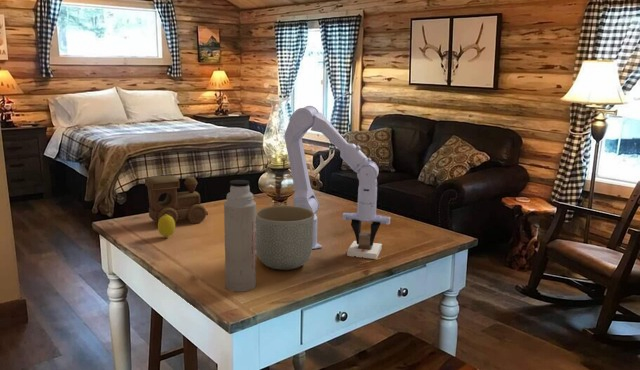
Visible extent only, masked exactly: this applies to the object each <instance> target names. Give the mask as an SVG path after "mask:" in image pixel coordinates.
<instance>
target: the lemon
mask: <svg viewBox="0 0 640 370" xmlns="http://www.w3.org/2000/svg"><path fill="white" fill-rule="evenodd" d="M157 231H158V233H159V234H160V235H161V236H163V237H165V238H169V237H170V236H172V235H173V234H174V233H175V231H176V223H175V221H174V219H173V218H172V217H171V216H169V215H167V214H165V215H164V216H162V217H161V218H160V219H159V221H158V223H157Z"/></svg>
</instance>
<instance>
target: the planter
mask: <svg viewBox="0 0 640 370" xmlns="http://www.w3.org/2000/svg"><path fill="white" fill-rule="evenodd" d="M313 231H314V212H313V211H311V210H309V209H306V208H303V207H297V206H294V205H271V206H266V207H262V208H259V209H256V257H257V258H258V259H259V261H260V262H261V263H262V264H263V265H265V266H266V267H268V268H269V269H273V270H279V271H288V270H294V269H298V268H300V267H302V266H303V265H305V264H306V263H307V262H308V261H309V260H310V258H311V256H312V253H313V249H312V247H313Z"/></svg>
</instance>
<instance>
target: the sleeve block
mask: <svg viewBox="0 0 640 370" xmlns="http://www.w3.org/2000/svg"><path fill="white" fill-rule="evenodd" d="M358 246H359V244H357V241H356V240H353V242H352V243H351V244H350V246H349V247H348V249H347V252H346V253H347V254H346V255H347V256H349V257H354V256H356V257H355V258H362V257H363V258H365V259H373V260H377V259H378V257H379V255H380V253H381V251H382V248H383V247H382V246H383V244H382V243H377V242H374V243H373V246H372V249H371V250H365V249H358Z"/></svg>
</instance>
